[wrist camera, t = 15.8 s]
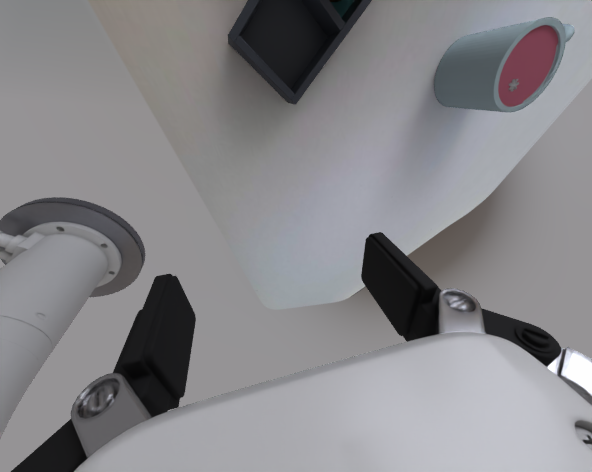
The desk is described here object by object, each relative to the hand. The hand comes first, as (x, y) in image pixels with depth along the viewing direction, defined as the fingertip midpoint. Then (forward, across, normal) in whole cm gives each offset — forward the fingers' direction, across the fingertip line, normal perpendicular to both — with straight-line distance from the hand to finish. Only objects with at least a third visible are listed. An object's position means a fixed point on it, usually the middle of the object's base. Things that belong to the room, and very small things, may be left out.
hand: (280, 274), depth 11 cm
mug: (+28, -37, -8) cm, 47 cm away
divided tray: (+28, -10, -16) cm, 34 cm away
